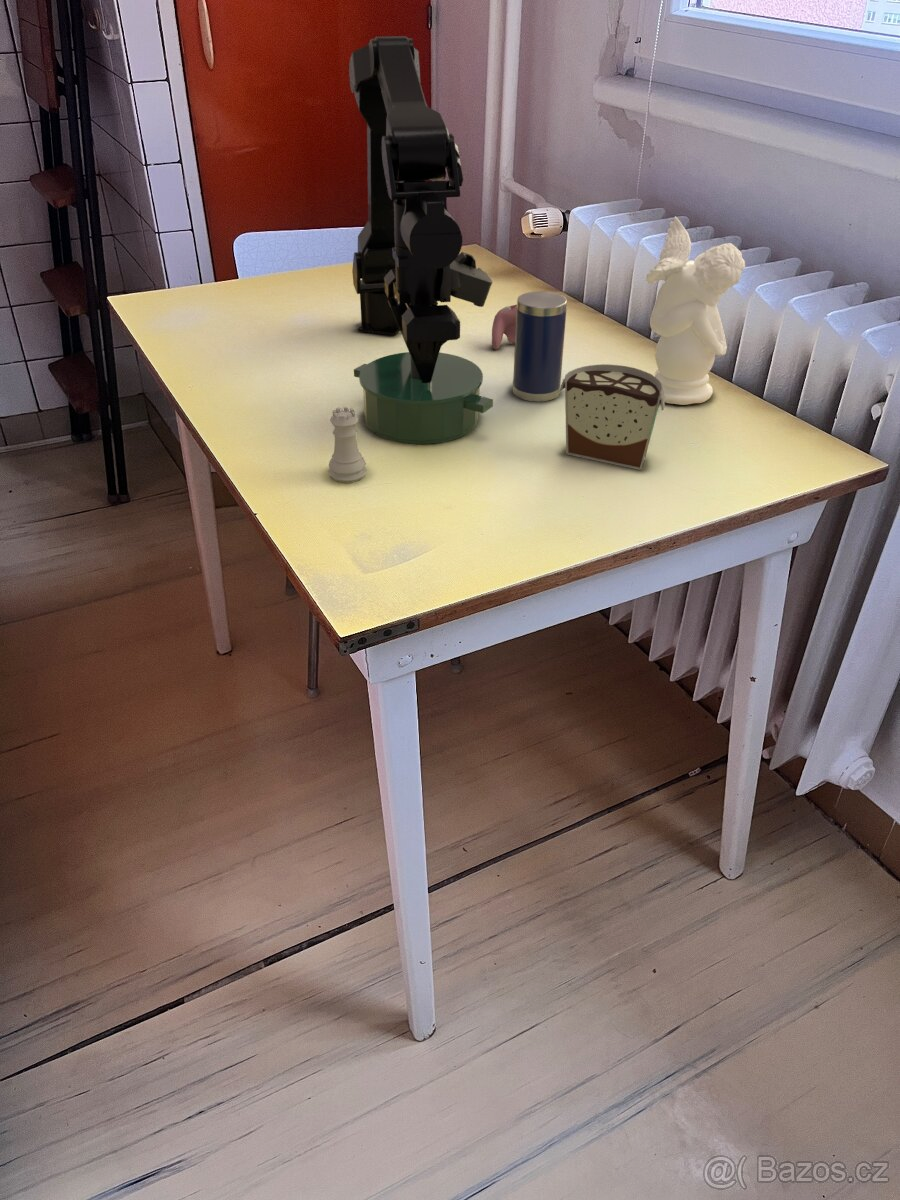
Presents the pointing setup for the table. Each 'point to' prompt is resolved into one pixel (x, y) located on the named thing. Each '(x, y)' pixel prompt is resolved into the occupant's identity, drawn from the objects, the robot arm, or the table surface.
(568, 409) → the food container
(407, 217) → the robot arm
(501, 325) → the video game controller
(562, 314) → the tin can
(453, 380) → the pot lid
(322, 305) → the table surface
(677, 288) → the cherub figurine
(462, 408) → the pot
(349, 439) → the rook chess piece
